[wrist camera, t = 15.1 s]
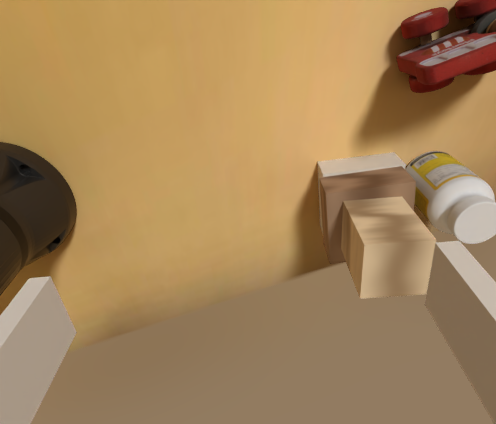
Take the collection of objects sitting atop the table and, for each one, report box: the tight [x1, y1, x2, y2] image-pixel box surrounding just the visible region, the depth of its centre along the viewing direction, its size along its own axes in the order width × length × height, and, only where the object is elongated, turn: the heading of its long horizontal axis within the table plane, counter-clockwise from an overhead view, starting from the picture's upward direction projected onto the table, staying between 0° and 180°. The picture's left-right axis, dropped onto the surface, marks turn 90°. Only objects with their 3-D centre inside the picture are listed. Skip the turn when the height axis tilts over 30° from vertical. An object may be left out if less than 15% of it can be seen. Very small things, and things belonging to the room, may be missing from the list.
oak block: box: [341, 196, 436, 299], centre depth 37 cm, size 6×6×8 cm
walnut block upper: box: [319, 166, 416, 264], centre depth 42 cm, size 9×9×4 cm
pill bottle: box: [405, 151, 496, 244], centre depth 41 cm, size 6×6×12 cm
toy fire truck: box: [397, 0, 496, 93], centre depth 34 cm, size 7×12×10 cm, turn 110°
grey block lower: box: [317, 152, 406, 233], centre depth 45 cm, size 9×9×4 cm
